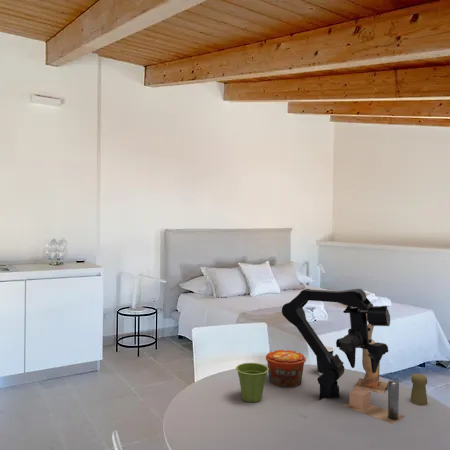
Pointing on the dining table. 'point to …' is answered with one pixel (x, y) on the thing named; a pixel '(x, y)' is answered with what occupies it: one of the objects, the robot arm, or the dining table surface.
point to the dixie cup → (330, 350)
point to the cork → (419, 389)
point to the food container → (285, 368)
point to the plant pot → (252, 380)
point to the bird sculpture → (370, 372)
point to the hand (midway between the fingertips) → (363, 370)
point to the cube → (359, 398)
